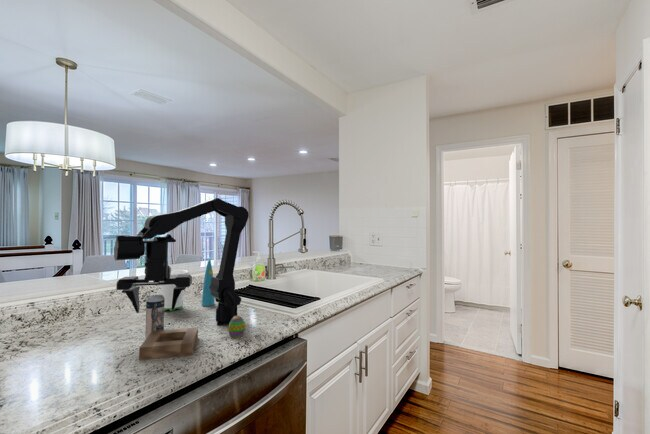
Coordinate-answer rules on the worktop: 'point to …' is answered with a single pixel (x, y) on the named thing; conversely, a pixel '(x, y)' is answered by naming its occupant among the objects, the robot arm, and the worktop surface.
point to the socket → (169, 343)
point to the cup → (168, 291)
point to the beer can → (154, 314)
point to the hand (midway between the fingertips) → (155, 311)
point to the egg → (236, 327)
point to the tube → (207, 286)
